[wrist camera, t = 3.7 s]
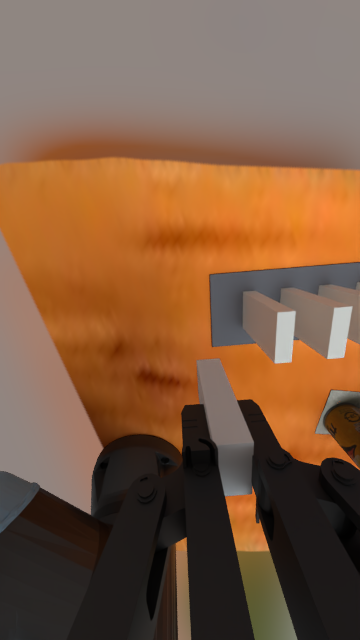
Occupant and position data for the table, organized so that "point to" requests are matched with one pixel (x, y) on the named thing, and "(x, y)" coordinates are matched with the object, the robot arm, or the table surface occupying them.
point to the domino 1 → (269, 325)
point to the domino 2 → (319, 321)
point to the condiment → (343, 421)
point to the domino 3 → (355, 298)
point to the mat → (266, 293)
